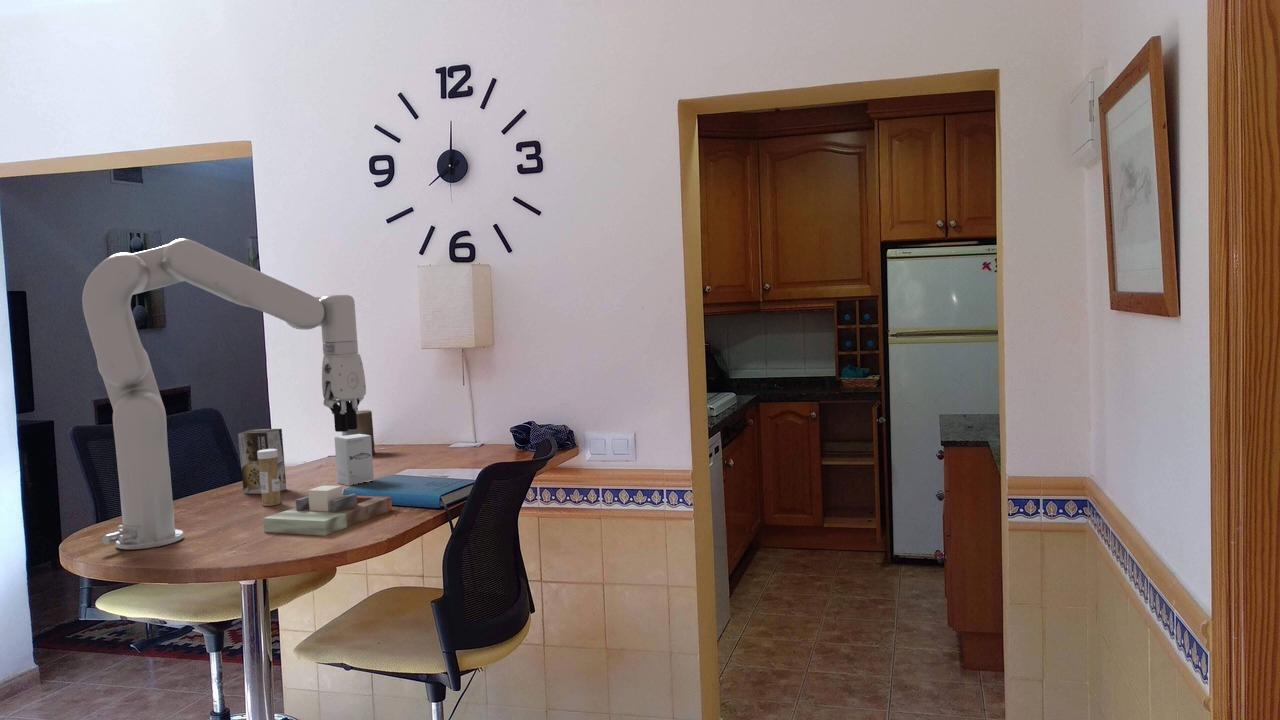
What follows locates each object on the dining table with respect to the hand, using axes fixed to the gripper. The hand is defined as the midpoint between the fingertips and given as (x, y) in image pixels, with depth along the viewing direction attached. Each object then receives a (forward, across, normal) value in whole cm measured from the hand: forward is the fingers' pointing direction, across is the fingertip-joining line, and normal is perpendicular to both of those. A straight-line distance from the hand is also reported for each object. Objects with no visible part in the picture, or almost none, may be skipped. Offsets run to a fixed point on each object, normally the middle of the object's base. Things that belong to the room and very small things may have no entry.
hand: (346, 429), depth 215 cm
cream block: (+16, -8, 0) cm, 18 cm away
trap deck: (+19, -7, 0) cm, 20 cm away
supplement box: (+19, +31, +23) cm, 43 cm away
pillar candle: (+19, +70, +52) cm, 89 cm away
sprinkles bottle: (+19, +4, +27) cm, 33 cm away
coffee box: (+19, +17, +41) cm, 48 cm away
